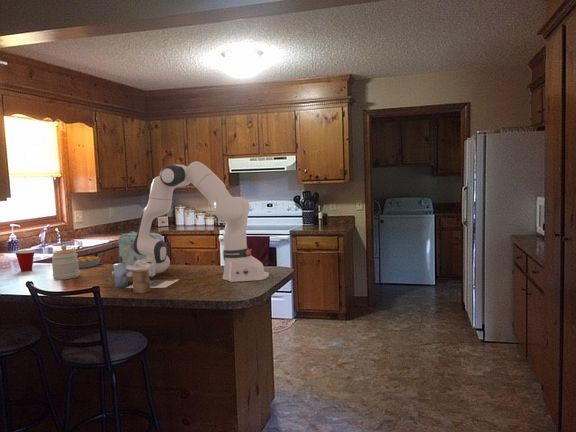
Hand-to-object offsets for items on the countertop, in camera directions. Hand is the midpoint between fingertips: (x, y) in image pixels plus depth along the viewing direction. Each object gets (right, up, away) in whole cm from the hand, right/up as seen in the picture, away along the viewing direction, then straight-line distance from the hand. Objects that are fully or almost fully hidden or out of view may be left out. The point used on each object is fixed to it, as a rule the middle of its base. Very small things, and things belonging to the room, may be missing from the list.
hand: (119, 274), depth 220 cm
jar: (-40, -6, +31) cm, 51 cm away
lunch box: (-3, -3, +43) cm, 44 cm away
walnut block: (+14, -7, -13) cm, 20 cm away
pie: (-47, -3, +66) cm, 81 cm away
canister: (+1, -6, +1) cm, 6 cm away
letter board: (+15, -5, +2) cm, 16 cm away
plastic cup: (-76, -5, +59) cm, 97 cm away
